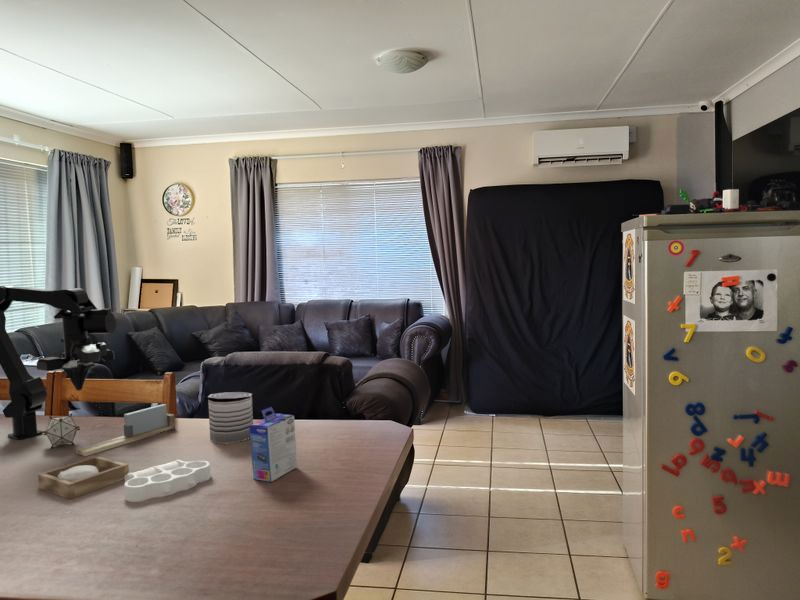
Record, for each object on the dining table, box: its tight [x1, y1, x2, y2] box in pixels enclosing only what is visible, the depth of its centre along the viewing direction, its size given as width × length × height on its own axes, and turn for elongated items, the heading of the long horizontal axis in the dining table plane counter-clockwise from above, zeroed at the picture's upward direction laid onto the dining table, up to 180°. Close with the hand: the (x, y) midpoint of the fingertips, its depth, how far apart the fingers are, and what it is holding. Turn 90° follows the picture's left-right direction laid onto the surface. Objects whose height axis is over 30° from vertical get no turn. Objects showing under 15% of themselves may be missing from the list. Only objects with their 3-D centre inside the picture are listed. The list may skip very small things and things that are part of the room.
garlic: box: [58, 465, 100, 482], centre depth 127 cm, size 8×7×4 cm
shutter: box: [123, 403, 168, 437], centre depth 161 cm, size 2×12×6 cm, turn 148°
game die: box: [42, 412, 81, 449], centre depth 153 cm, size 9×8×10 cm
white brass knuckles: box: [123, 459, 212, 503], centre depth 125 cm, size 3×18×15 cm
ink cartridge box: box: [249, 406, 298, 483], centre depth 130 cm, size 10×6×14 cm, turn 155°
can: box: [207, 391, 254, 444], centre depth 157 cm, size 11×11×12 cm
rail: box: [75, 412, 176, 457], centre depth 156 cm, size 4×26×4 cm, turn 148°
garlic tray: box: [37, 455, 130, 500], centre depth 127 cm, size 12×13×3 cm
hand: (79, 390), depth 162 cm, fingers closed
